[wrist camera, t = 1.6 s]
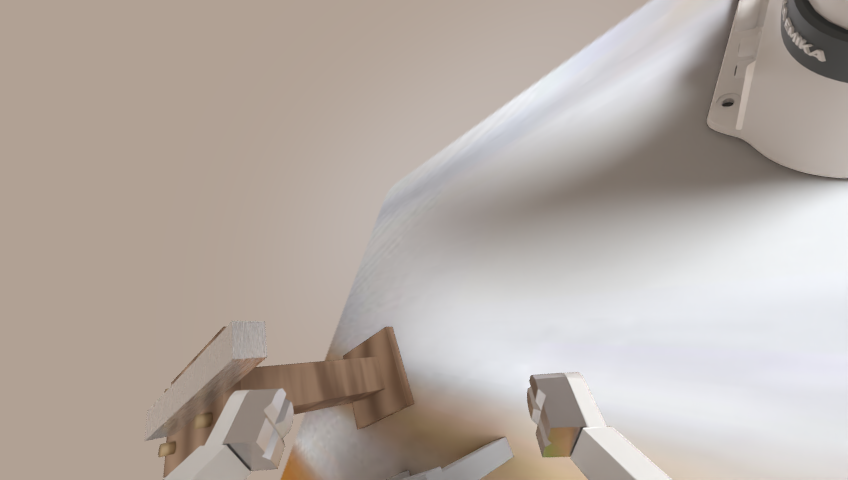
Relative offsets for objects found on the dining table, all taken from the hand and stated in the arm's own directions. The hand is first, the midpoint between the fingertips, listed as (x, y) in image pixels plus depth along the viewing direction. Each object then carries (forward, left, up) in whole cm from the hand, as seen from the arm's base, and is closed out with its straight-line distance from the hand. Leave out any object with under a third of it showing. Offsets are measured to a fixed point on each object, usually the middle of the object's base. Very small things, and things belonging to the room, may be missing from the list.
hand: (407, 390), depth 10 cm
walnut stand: (+12, -33, -30) cm, 46 cm away
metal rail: (+9, -28, -4) cm, 30 cm away
